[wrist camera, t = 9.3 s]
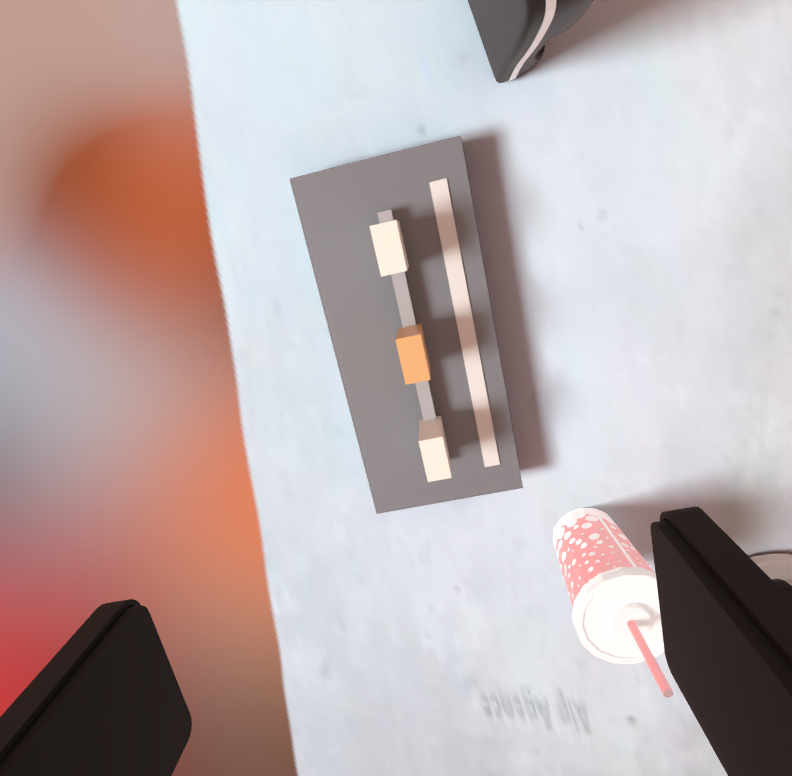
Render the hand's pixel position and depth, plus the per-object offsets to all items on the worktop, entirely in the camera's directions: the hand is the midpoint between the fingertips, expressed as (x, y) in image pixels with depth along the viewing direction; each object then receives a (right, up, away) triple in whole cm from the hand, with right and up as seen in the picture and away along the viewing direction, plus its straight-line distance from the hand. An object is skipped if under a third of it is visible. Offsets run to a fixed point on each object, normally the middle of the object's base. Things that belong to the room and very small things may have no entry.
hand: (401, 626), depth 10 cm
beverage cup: (+14, -6, +30) cm, 33 cm away
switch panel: (+1, +8, +26) cm, 27 cm away
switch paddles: (+1, +7, +23) cm, 24 cm away
